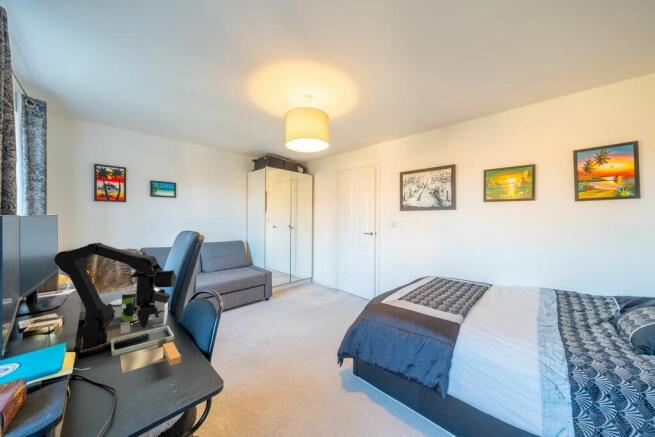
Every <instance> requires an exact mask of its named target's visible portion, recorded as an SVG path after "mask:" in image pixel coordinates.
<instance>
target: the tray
mask: <svg viewBox="0 0 655 437" xmlns="http://www.w3.org/2000/svg"><path fill="white" fill-rule="evenodd" d="M163 331H167V333H168V335H169V336H166V337H164V338H166V343H168V342H172V341H174V340H175V334H174V333H173V331H172V330H171V328H170V326H169V325H164V326H159V327H155V328H153V329H148V330H144V331H139V332H134V333H131V334H126V335H122V336H121V335H120V336H118V337H112V338H110V349H111V357H114V356H118V355H123V354H127V353H131V352H134V351H138V350H142V349H146V348H149V347H153V346H157V345H158V339H155V340H150V341H147V342H143V343H139V344H135V345H131V346H127V347H123V348H120V349H119V348H118V349H115V346H114V344H115V343H117V342H116V341H119V342H121V341H120V340H122V339H125V338H128V337H132V336H136V335H140V334H145V333H147V334H148V335H152V334H156V333H160V332H163ZM162 338H163V337H161V338H160V339H162ZM113 342H114V343H113Z"/></svg>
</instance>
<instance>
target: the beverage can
mask: <svg viewBox="0 0 655 437" xmlns="http://www.w3.org/2000/svg"><path fill="white" fill-rule="evenodd" d="M135 297H136V290H128V291H124V292H122V296H121V310H120V311H121V312H120V324H121V323H123V322H128V321H129V322H130V324H131V323H134V322H136V321H138V322H139V319H138V317H137V315H136V313H135V310H134V307H137V306H136V304H135V305H133V304H132V303H133V298H135Z"/></svg>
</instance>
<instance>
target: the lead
mask: <svg viewBox="0 0 655 437" xmlns="http://www.w3.org/2000/svg"><path fill="white" fill-rule="evenodd" d="M163 321H164V320H163V318H156V319H153V318H152V319H148V322H147V325H146V327H145V328H147V327H153V325H157V324H161V323H162V322H163ZM119 328H120V334H124V333H125V334H127V333H130V332H131V328H132V331H133V330H137V329H143V328H142V326H141V324H140V322H139V321H138V322H137V323H133V325H132V327H131V326H130V322H129V321H128V322H123V323H121V322H120V327H119Z"/></svg>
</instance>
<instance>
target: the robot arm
mask: <svg viewBox="0 0 655 437" xmlns="http://www.w3.org/2000/svg"><path fill="white" fill-rule="evenodd" d="M95 255H96V256H98V257H102V258H106V259H109V260H111V261H116V262H120V263H123V264H126V265H127V266H128V267H129V268H131V269H133V270H135V272H134V273H133V274H130V276H129V277H130V278H136V289H135V291H136V297H135V298H133V303H132V304H133V305H135V304H136V306H137V307H134V310H135V313H136V315H137V317H138V322H140V324H141V326H142V328H141V329H144V328H147V327H146V325H147V322H148V320H150V317H149V316H150V315H152V314H156V313H157V311H158V308H157V306H156V305H154V304H153V303H155V301H156V302H163V303H167V302H168V303H169V300H170V297H171V294H169V293H168V292H166V290H165V289H163V288H174V287H175V286H176V283H177V275H176V273H175V272H176V271H175V270H174V269H173V270H171V269H170V270H164V269H163V268H162V266H160V264H159V263H158V260H157V257H155V256H154V255H150V254H148V255H147V254H138V253H132V252H129V251H126V250H123V249H120V248H116V247H113V246H110V245H107V244H104V243H102V242H94V243H89V244H87V245H84V246H81V247H78V248H75V249H69V250H68V249H67V250H63V251H59V252H57V253H56V255H55V257H54V258H53V262H54V263H55V265H56V266H57V267H58V268H59V270H60V271H61V272H64V273H65V274H66V275H68V277H69V278H70V280H71V282H72V284H73V286H74V289H75V290H76V292H77V295H78V297H79V299H80V301H81V303H82V304H83V307H84V309H85V312H84V322H85V325H84V326H82V327H81V328H80V329H79V330H78V331H77V335H78V337H81V338H82V343H81V344H82V345H81V350H82V349H83V350H88V349H94V348H93V347H95V348H97V346H98V347H100V346H102V345H101V344H104V343H107V344H108V331H106V328H107V327H108V326H109V325H110V323H111V322H113V320H114V318H115V313H116V311H115V309H114V308H113V304H112V303H109V304H106V303H104V302H103V301H102V299H101V297H100V294H99V293H98V291H97V289H96V287H95V285H94V282H93V281H92V279H91V276H90V274H89V272H88V270H87V266H88V259H87V258H89V257H92V256H95ZM154 288H160V290H159V291H157V292H156V291H155V290H154ZM151 303H152V304H151ZM99 345H100V346H99ZM104 345H105V344H104Z"/></svg>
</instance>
